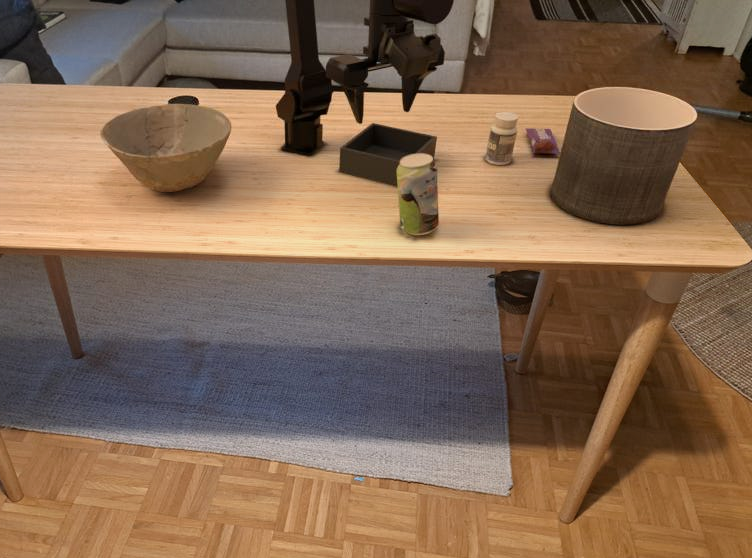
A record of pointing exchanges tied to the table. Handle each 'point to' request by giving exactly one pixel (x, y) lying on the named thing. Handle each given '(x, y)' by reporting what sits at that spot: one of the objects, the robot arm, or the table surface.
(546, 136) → the snack package
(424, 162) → the beverage can
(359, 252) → the table surface
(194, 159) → the ceramic bowl
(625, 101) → the planter
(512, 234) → the table surface
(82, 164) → the table surface
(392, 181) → the square storage tray
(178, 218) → the table surface
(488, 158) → the pill bottle
